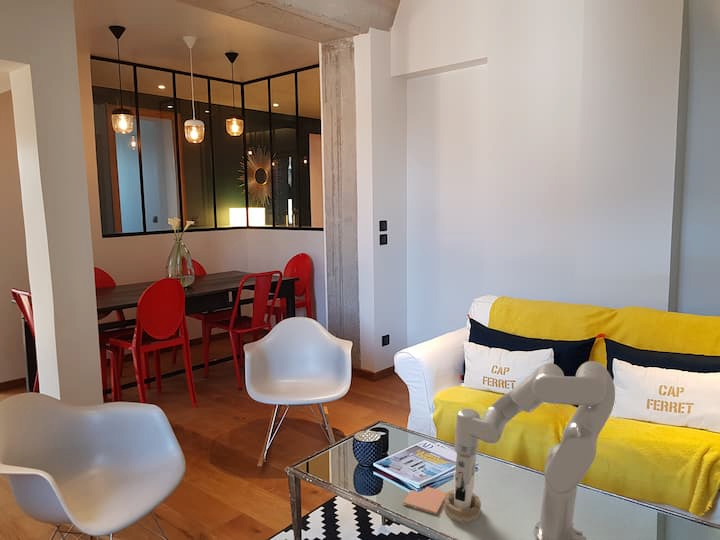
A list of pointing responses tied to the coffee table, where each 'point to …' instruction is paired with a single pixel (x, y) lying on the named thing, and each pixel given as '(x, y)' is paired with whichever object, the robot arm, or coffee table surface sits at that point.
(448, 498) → the collar ring
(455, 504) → the drinking glass
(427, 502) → the terracotta tile
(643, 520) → the coffee table surface
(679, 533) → the coffee table surface
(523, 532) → the coffee table surface
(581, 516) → the coffee table surface
